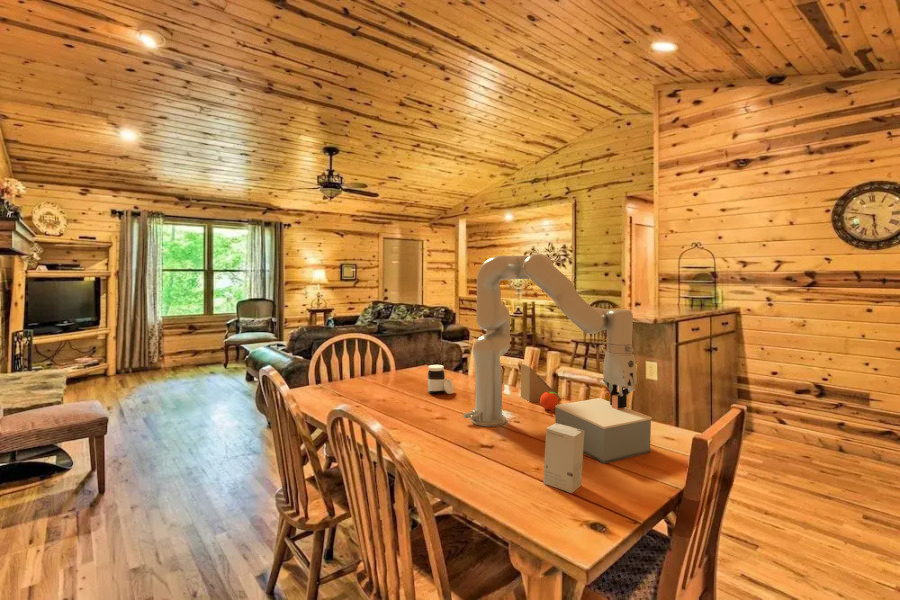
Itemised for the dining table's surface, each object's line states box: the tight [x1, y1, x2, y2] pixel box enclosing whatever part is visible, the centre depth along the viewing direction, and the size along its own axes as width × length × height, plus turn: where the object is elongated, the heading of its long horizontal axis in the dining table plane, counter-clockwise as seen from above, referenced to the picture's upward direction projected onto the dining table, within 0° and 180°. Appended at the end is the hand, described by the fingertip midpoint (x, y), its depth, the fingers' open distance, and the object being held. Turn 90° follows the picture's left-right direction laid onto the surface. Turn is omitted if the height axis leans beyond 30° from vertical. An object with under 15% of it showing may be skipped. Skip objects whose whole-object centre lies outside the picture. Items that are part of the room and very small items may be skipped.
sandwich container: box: [520, 362, 562, 403], centre depth 191 cm, size 9×15×15 cm, turn 108°
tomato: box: [539, 391, 559, 411], centre depth 176 cm, size 8×7×7 cm
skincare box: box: [543, 423, 584, 494], centre depth 116 cm, size 8×6×15 cm
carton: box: [554, 407, 652, 465], centre depth 141 cm, size 18×22×10 cm
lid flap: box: [555, 394, 653, 429], centre depth 141 cm, size 18×22×5 cm
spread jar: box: [427, 364, 454, 395], centre depth 202 cm, size 12×11×12 cm
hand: (618, 405), depth 144 cm, fingers closed on lid flap, 2 cm apart
